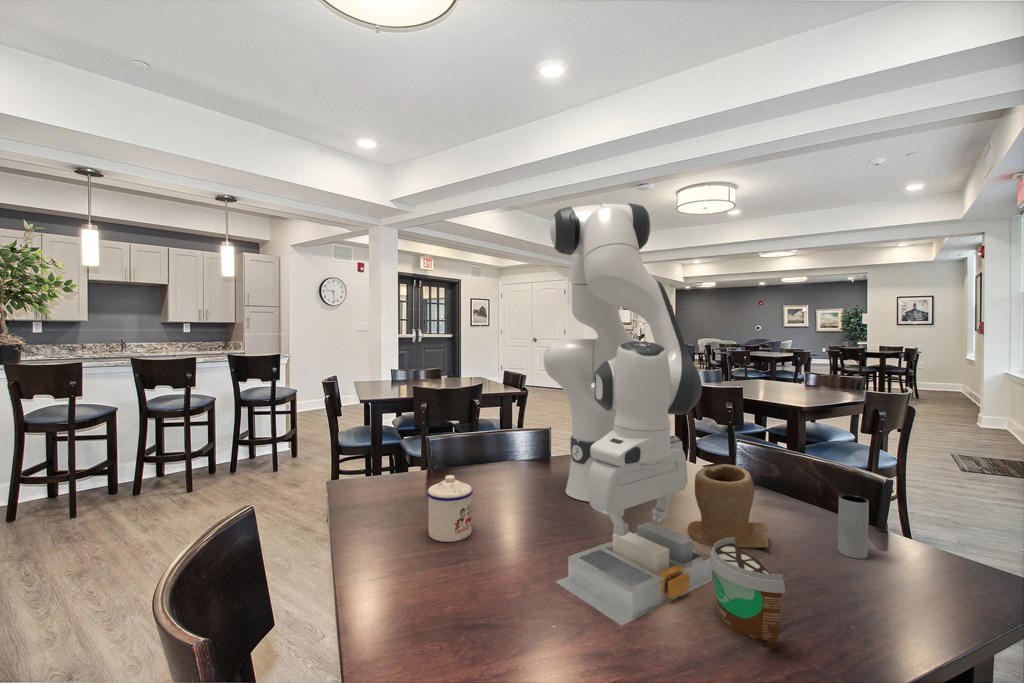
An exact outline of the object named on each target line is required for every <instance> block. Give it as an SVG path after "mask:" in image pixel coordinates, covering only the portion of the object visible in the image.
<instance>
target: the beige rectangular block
mask: <svg viewBox="0 0 1024 683" xmlns="http://www.w3.org/2000/svg"><path fill="white" fill-rule="evenodd" d="M612 541H613V553H615V554H617V555H619V556H621V557H623V558H625V559H627V560H629V561H631V562H633V563H635V564H637V565H639V566H641V567H643V568H645V569H647V570H649V571H651V572H653V573H655V574H657V575H659V573H660V572H662V571H665V570H667V569H669V549H668V548H665V547H663V546H661V545H658V544H656V543H654V542H652V541H649V540H647V539H645V538H643V537H640V536H638V535H636V534H634V533H633V532H632V531H629V530H628V534H627V535H624V536H621V537H620V536H617V535H615V534H614V533H612Z"/></svg>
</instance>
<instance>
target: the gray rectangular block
mask: <svg viewBox="0 0 1024 683" xmlns="http://www.w3.org/2000/svg"><path fill="white" fill-rule="evenodd" d="M636 529H637V530H636V533H637V535H638V536H640V537H643V538H645V539H647V540H649V541H652V542H654V543H656V544H658V545H661V546H663V547H665V548H668V549H669V558H670V559H673V560H675V561H677V562H679V563H681V564H685V563H687V562H689V561H692V560H693V549H694V539H692V538H690V537H687V536H684V535H682V534H679V533H676V532H675V531H672V530H669V529H667V528H664V527H662V526H659V525H658V524H654V523H653V522H650V521H647V522H644V523H642V524H638V525H637V526H636Z"/></svg>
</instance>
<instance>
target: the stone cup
mask: <svg viewBox="0 0 1024 683" xmlns="http://www.w3.org/2000/svg"><path fill="white" fill-rule="evenodd" d="M694 495H695V500H696V505H697V507H698V509H699V510H698V511H699V512H700V517H701V518H700V519H701V520H700V521H698V520H697V521H692V522H690V523H688V526H687V533H688V535H689V538H690V539H692V540H693V541H696V543H698V544H701V545H703V546H704V545H705V546H710V547H714V544H715V543H716V542H718V541H719V540H722V539H726V538H734V537H735V545H737V546H738V547H739V548H740V549H742V548H743V549H744V548H747V549H749V548H750V549H752V548H753V549H767V548H769V546H770V545H769V539H768V534H767V531H768V526H767V524H766V523H765V522H755V521H753V522H751V521H750V515H751V514H750V513H751V509H752V506H753V502H754V498H755V485H754V480H753V477H752V475H751V473H750V472H749V471H748V470H746V469H745V468H743V467H741V466H738V465H733V464H727V463H725V464H716V465H713V466H710V465H708V466H704V467H701V469H699V470H698V471H697V473H696V474H695V476H694Z"/></svg>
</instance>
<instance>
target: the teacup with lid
mask: <svg viewBox="0 0 1024 683" xmlns="http://www.w3.org/2000/svg"><path fill="white" fill-rule="evenodd" d="M426 493H427V494H426V495H427V497H428V536H429V537H430V538H431V539H433V540H435V541H437V542H443V543H444V542H445V543H446V542H447V543H451V542H459V541H462V540H465V539H466V538H468V537H469V536H471V534H472V494H473V493H474V492H473V488H472V486H471V485H470V484H468V483H466V482H461V481H460V480H457V479H456V477H455V476H454V475H452V474H449V475H445V477H444V480H442V481H440V482H439V483H436V484H433V485H431V486H430V487H429V488H428V490H427V492H426Z"/></svg>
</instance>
